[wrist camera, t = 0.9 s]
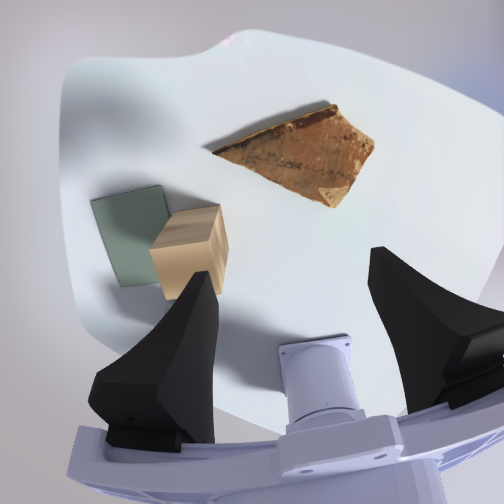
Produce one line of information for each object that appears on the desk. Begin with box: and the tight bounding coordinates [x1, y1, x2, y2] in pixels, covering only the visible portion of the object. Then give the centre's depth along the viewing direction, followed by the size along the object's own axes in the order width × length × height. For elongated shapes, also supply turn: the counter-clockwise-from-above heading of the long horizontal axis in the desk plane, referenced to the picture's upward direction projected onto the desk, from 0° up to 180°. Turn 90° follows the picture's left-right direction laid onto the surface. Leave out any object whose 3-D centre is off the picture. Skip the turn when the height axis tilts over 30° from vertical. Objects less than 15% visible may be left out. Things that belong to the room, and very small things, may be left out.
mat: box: [91, 185, 170, 287], centre depth 27 cm, size 9×7×1 cm
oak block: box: [149, 205, 229, 300], centre depth 23 cm, size 4×4×7 cm
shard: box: [212, 104, 375, 208], centre depth 22 cm, size 11×8×2 cm
